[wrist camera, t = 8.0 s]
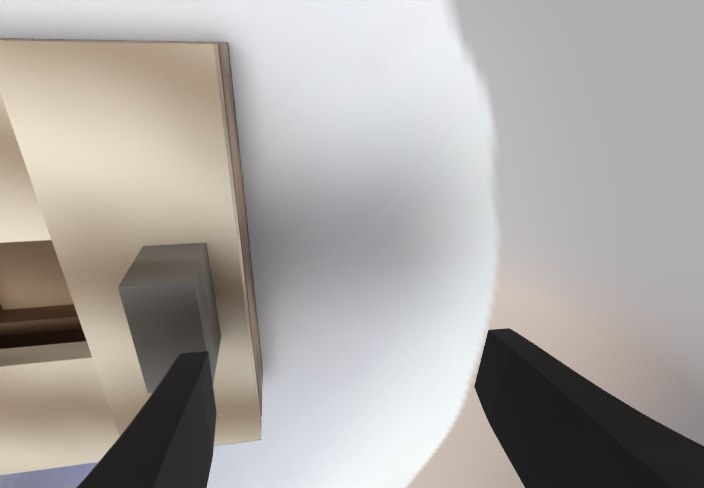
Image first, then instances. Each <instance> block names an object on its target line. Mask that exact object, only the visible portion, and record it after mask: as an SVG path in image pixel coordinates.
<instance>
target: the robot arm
mask: <svg viewBox="0 0 704 488" xmlns="http://www.w3.org/2000/svg"><path fill="white" fill-rule="evenodd" d="M475 389H476V392H477V395H478V397H479V400H480V402H481V405H482V407H483V410H484V412H485V414H486V417H487V419H488V421H489V423H490V425H491V427H492V429H493V431H494V433H495V435H496V436H497V438H498V440H499V442H500V444H501V445H502V447H503V449H504V451H505V453H506V454H507V456H508V458H509V460H510V462H511V463H512V465H513V467H514V469H515V470H516V472H517V474H518V476H519V477H520V479H521V481H522V483H523V485H524V486H525V488H704V446H702V445H700V444H698V443H696V442H694V441H692V440H690V439H688V438H686V437H684V436H682V435H681V434H679V433H677V432H675V431H673V430H671V429H669V428H668V427H666V426H664V425H662V424H660V423H658V422H656V421H655V420H653V419H651V418H649V417H647V416H646V415H644V414H642V413H641V412H639V411H637V410H635V409H634V408H632V407H630V406H629V405H627V404H625V403H624V402H622V401H621V400H619V399H617V398H616V397H614V396H612V395H611V394H609V393H607V392H606V391H604V390H602V389H601V388H599V387H598V386H596V385H595V384H593V383H592V382H590V381H588V380H587V379H585V378H584V377H582V376H581V375H579V374H578V373H576V372H575V371H573V370H572V369H570V368H569V367H567V366H566V365H564V364H563V363H561V362H560V361H558V360H557V359H555V358H554V357H552V356H551V355H549V354H548V353H547V352H545V351H543V350H542V349H541V348H539V347H538V346H536V345H534V344H533V343H532V342H530V341H528V340H527V339H526V338H524V337H522V336H521V335H519V334H518V333H516V332H514V331H513V330H511V329H496V330H488V334H487V338H486V342H485V346H484V350H483V354H482V358H481V362H480V366H479V370H478V374H477V378H476V382H475ZM216 414H217V412H216V404H215V397H214V390H213V382H212V375H211V368H210V361H209V353H208V351H204V352H191V353H181V354H180V355H179V356H178V357H177V358H176V359H175V361H174V363H173V364H172V366H171V367H170V369H169V370H168V372H167V373H166V375H165V376H164V377H163V379H162V380H161V382H160V383H159V385H158V386H157V388H156V389H155V390H154V392H153V393H152V395H151V396H150V397H149V399H148V400H147V402H146V403H145V404H144V406H143V407H142V408H141V410H140V411H139V412H138V413H137V415H136V416H135V417H134V419H133V420H132V421H131V423H130V424H129V425H128V427H127V428H126V429H125V431H124V432H123V433H122V434H121V436H120V437H119V438H118V439H117V441H116V442H115V443H114V444H113V445H112V447H111V448H110V449H109V450H108V451H107V453H106V454H105V455H104V456H103V457H102V459H101V460H100V461H99V462H94V463H87V464H80V465H73V466H65V467H58V468H51V469H43V470H36V471H29V472H21V473H14V474H7V475H0V488H206V487H207V482H208V477H209V472H210V467H211V462H212V457H213V447H214V437H215V426H216Z"/></svg>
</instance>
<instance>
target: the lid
mask: <svg viewBox="0 0 704 488" xmlns="http://www.w3.org/2000/svg"><path fill="white" fill-rule="evenodd" d="M41 240H52V243H53V246H54V248H55V251H56V254H57V257H58V260H59V263H60V266H61V269H62V271H63V274H64V277H65V280H66V283H67V286H68V289H69V292H70V294H71V297H72V300H73V303H74V306H75V309H76V312H77V315H78V318H79V320H80V323H81V326H82V329H83V332H84V335H85V338H86V341H83V342H72V343H61V344H50V345H40V346H29V347H18V348H7V349H0V475H7V474H14V473H21V472H29V471H36V470H43V469H51V468H58V467H65V466H73V465H80V464H87V463H94V462H99V461H100V460H101V459H102V457H103V456H104V455H105V454H106V453H107V451H108V450H109V449H110V448H111V447H112V445H113V444H114V443H115V442H116V441H117V439H118V438H119V437H120V436H121V434H122V433H123V432H124V431H125V429H126V428H127V427H128V425H129V424H130V423H131V421H132V420H133V419H134V417H135V416H136V415H137V413H138V412H139V411H140V410H141V408H142V407H143V406H144V404H145V403H146V402H147V400H148V399H149V397H150V396H151V395H152V393H153V392H154V390H155V389H156V388H157V386H158V385H159V383H160V382H161V380H162V379H163V377H164V376H165V375H166V373H167V372H168V370H169V369H170V367H171V366H172V364H173V363H174V361H175V359H176V358H177V357H178V356H179V355H180V354H181V353H191V352H204V351H208V353H209V361H210V368H211V375H212V382H213V390H214V397H215V404H216V412H217V414H216V426H215V437H214V446H219V445H226V444H234V443H241V442H248V441H255V440H261V414H260V405H259V396H258V388H257V379H256V371H255V362H254V353H253V345H252V336H251V327H250V319H249V310H248V301H247V293H246V284H245V275H244V267H243V258H242V250H241V241H240V232H239V224H238V215H237V206H236V198H235V189H234V180H233V172H232V163H231V154H230V146H229V137H228V129H227V120H226V111H225V103H224V94H223V85H222V77H221V68H220V59H219V51H218V44H194V43H139V42H83V41H28V40H0V243H4V242H23V241H41Z"/></svg>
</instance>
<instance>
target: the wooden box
mask: <svg viewBox="0 0 704 488" xmlns="http://www.w3.org/2000/svg"><path fill="white" fill-rule="evenodd" d="M0 40H28V41H83V42H139V43H194V44H218V51H219V59H220V68H221V77H222V85H223V94H224V103H225V111H226V120H227V129H228V137H229V146H230V154H231V163H232V172H233V180H234V189H235V198H236V206H237V215H238V224H239V232H240V241H241V250H242V258H243V267H244V275H245V284H246V293H247V301H248V310H249V319H250V327H251V336H252V345H253V353H254V362H255V371H256V379H257V388H258V396H259V405H260V414H261V416H262V378H263V369H262V360H261V350H260V341H259V331H258V322H257V312H256V303H255V293H254V284H253V274H252V265H251V255H250V246H249V236H248V227H247V217H246V208H245V198H244V189H243V179H242V170H241V160H240V151H239V141H238V132H237V122H236V113H235V103H234V94H233V85H232V75H231V66H230V56H229V47H228V42H176V41H122V40H68V39H15V38H0ZM83 341H86V338H85V335H84V332H83V329H82V326H81V323H80V320H79V318H78V315H77V312H76V309H75V306H74V303H73V300H72V297H71V294H70V292H69V289H68V286H67V283H66V280H65V277H64V274H63V271H62V269H61V266H60V263H59V260H58V257H57V254H56V251H55V248H54V246H53V243H52V240H41V241H23V242H4V243H0V349H7V348H18V347H29V346H40V345H50V344H61V343H72V342H83Z"/></svg>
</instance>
